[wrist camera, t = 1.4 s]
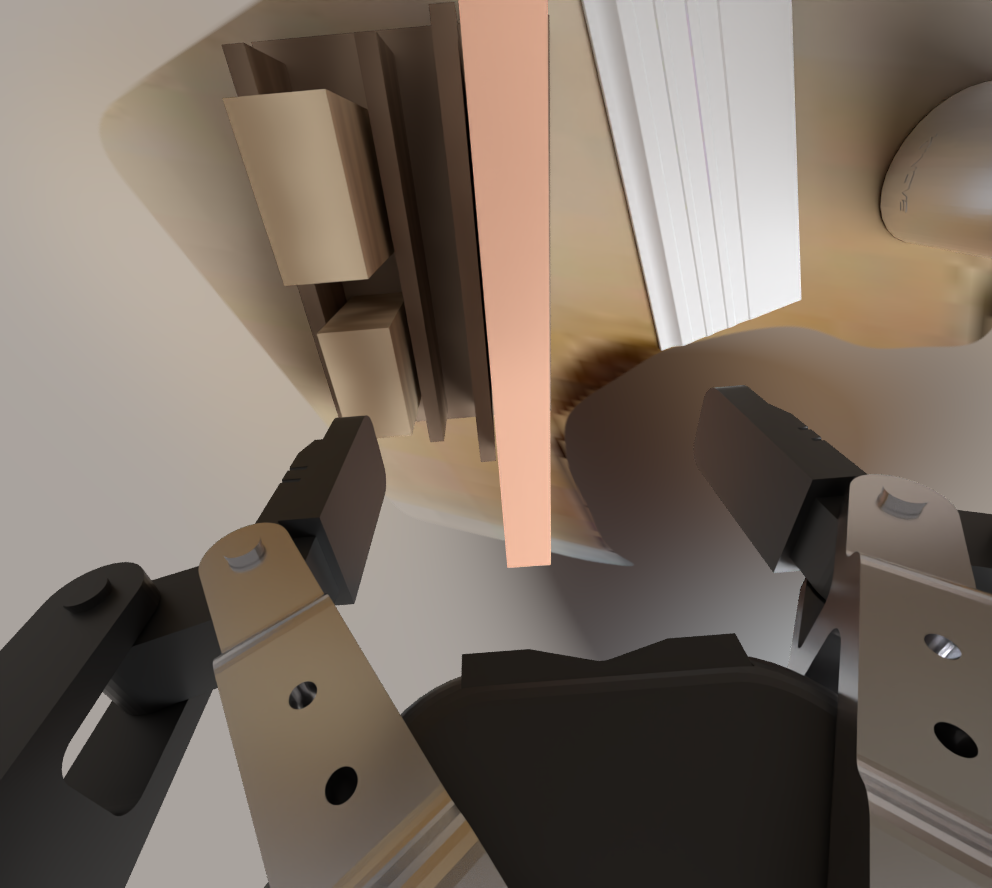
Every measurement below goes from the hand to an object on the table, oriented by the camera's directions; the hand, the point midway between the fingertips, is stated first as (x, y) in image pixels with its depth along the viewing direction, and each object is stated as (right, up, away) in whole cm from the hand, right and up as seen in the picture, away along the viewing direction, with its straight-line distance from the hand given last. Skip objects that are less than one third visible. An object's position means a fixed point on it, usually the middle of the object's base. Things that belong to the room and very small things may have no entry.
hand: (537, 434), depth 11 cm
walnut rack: (-5, +13, +21) cm, 25 cm away
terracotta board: (-1, +12, +19) cm, 23 cm away
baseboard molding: (+11, +21, +17) cm, 29 cm away
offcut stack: (-9, +12, +19) cm, 24 cm away
